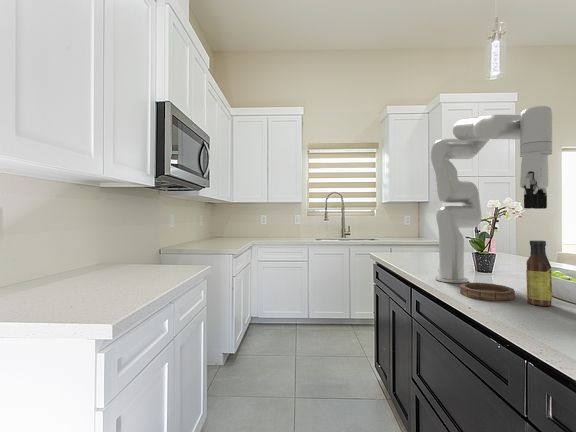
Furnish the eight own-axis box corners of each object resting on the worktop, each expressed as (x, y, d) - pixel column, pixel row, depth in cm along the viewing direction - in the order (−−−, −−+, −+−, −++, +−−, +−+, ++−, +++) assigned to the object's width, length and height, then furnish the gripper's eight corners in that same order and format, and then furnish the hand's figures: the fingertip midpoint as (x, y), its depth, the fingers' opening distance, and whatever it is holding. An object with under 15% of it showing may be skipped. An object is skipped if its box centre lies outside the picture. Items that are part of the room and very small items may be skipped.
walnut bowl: (451, 289, 121) (451, 282, 121) (493, 289, 122) (493, 282, 122) (477, 301, 105) (477, 293, 105) (526, 300, 106) (526, 292, 106)
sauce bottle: (556, 307, 98) (556, 241, 98) (533, 306, 99) (533, 241, 99) (544, 301, 104) (544, 239, 104) (522, 300, 106) (522, 239, 106)
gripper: (528, 155, 104) (528, 208, 105) (511, 148, 93) (511, 208, 93) (558, 151, 99) (558, 208, 99) (543, 144, 88) (543, 208, 88)
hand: (535, 208), depth 96 cm, fingers open, 9 cm apart
